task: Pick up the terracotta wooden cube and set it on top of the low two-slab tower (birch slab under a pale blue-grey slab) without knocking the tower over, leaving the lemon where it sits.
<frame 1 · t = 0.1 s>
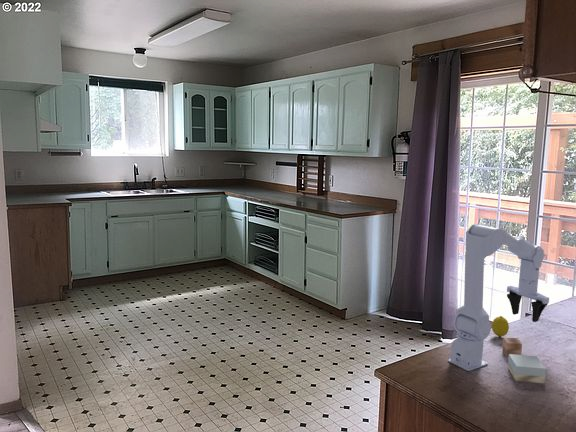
hand: (525, 317, 160), 10 cm above the counter, tool pointing down, fingers open, 7 cm apart
tower top: (526, 368, 140), point 2 cm above the counter, touching tower base
tower base: (525, 376, 141), on the counter, touching tower top
lemon: (499, 337, 168), on the counter
block: (511, 354, 154), on the counter
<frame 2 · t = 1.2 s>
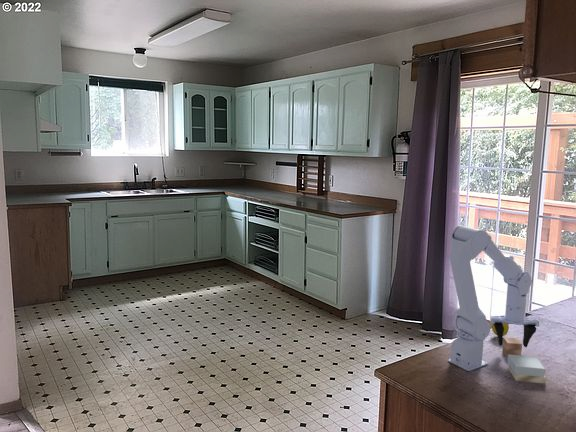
hand: (512, 345, 154), 3 cm above the counter, tool pointing down, fingers open, 7 cm apart
nothing on the counter moved.
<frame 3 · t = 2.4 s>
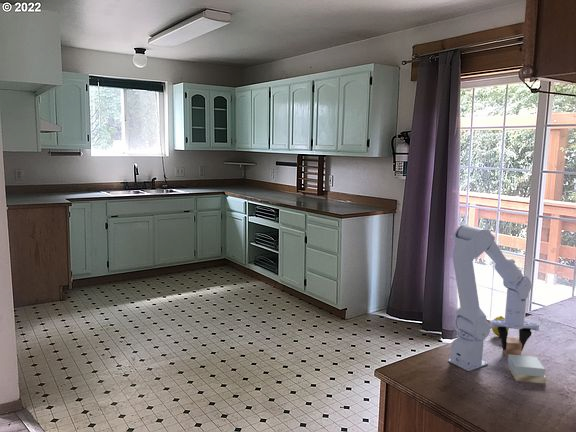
hand: (511, 349, 154), 2 cm above the counter, tool pointing down, fingers closed on block, 4 cm apart
block: (511, 354, 154), on the counter, touching gripper
everything else where it was.
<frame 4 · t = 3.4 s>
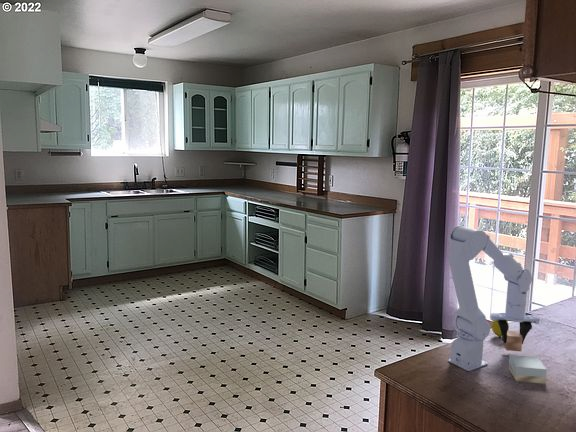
hand: (512, 342, 154), 4 cm above the counter, tool pointing down, fingers closed on block, 4 cm apart
block: (511, 348, 154), point 2 cm above the counter, touching gripper
everything else where it was.
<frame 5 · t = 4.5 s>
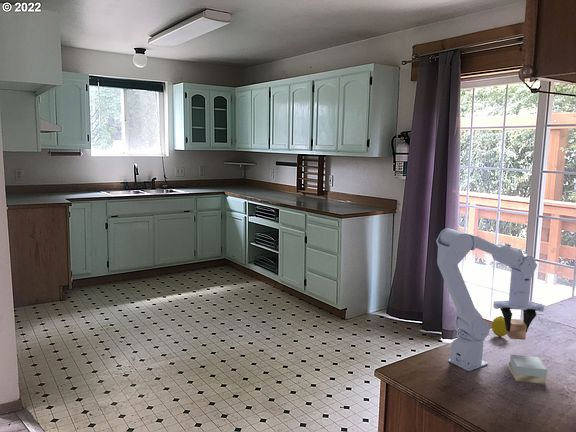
hand: (516, 330, 150), 9 cm above the counter, tool pointing down, fingers closed on block, 4 cm apart
block: (515, 336, 151), point 7 cm above the counter, touching gripper
everything else where it was.
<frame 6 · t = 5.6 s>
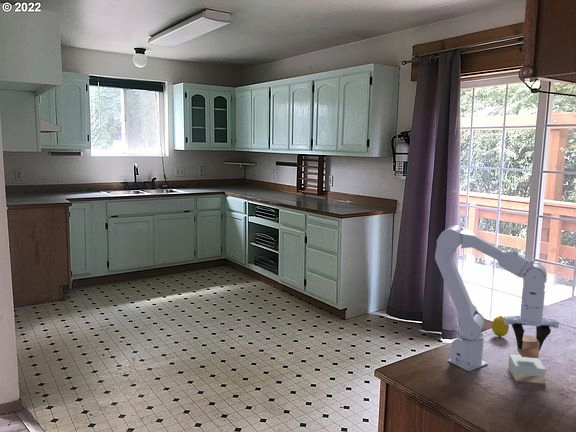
hand: (528, 348, 139), 9 cm above the counter, tool pointing down, fingers closed on block, 4 cm apart
block: (527, 354, 140), point 7 cm above the counter, touching gripper
everything else where it was.
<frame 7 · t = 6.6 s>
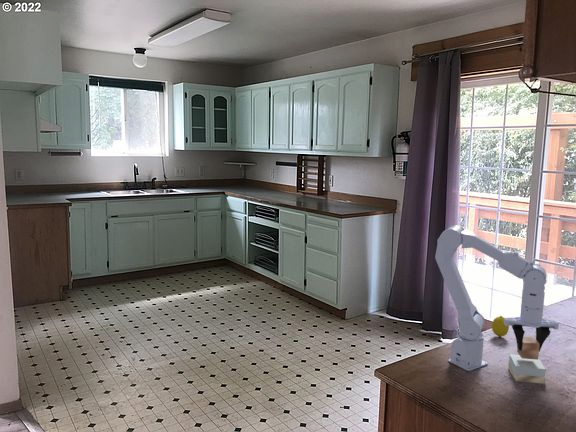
hand: (528, 349, 139), 8 cm above the counter, tool pointing down, fingers closed on block, 4 cm apart
block: (527, 355, 140), point 6 cm above the counter, touching gripper
everything else where it was.
when the fingers open (8 cm above the counter, at t = 6.8 s): block drops 2 cm, resting on tower top.
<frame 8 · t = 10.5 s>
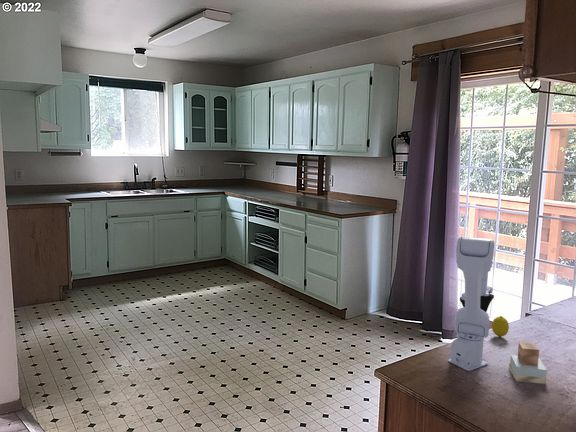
hand: (475, 316, 160), 10 cm above the counter, tool pointing down, fingers open, 7 cm apart
tower top: (527, 370, 140), point 2 cm above the counter, touching block, tower base
block: (527, 361, 140), point 4 cm above the counter, touching tower top
everything else where it was.
at the end: block 0.1 cm off-centre on the tower base, point 5.0 cm above the tower base's base; block tilted 0°; tower top moved 0.8 cm from its start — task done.
